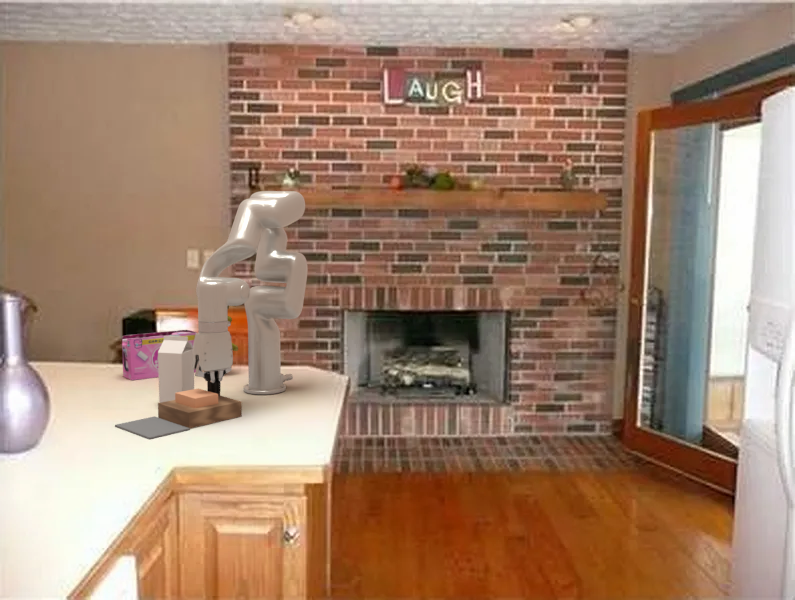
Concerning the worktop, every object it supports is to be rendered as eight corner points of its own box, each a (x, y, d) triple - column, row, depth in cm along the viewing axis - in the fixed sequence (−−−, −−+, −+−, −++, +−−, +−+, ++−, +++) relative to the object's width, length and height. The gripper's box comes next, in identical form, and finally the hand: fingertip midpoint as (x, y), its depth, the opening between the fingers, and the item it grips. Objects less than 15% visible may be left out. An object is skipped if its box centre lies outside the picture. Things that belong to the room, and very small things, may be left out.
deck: (210, 407, 211) (210, 392, 211) (241, 416, 202) (241, 401, 201) (158, 418, 199) (158, 403, 199) (189, 428, 190) (188, 412, 189)
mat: (154, 417, 199) (154, 416, 199) (189, 429, 189) (189, 428, 189) (115, 426, 191) (114, 424, 191) (149, 439, 181) (149, 437, 181)
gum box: (127, 381, 242) (126, 339, 240) (118, 377, 248) (117, 335, 246) (198, 372, 257) (197, 332, 255) (188, 368, 263) (187, 329, 261)
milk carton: (182, 407, 210) (181, 339, 208) (159, 405, 212) (157, 337, 210) (194, 401, 217) (193, 335, 215) (171, 399, 219) (170, 333, 217)
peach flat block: (198, 397, 205) (198, 388, 205) (218, 403, 199) (218, 393, 199) (175, 402, 200) (175, 392, 200) (195, 408, 194) (194, 398, 194)
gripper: (227, 323, 209) (228, 389, 211) (180, 328, 198) (181, 398, 200) (244, 326, 204) (245, 393, 206) (197, 332, 193) (198, 403, 195)
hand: (214, 395), depth 203 cm, fingers closed
